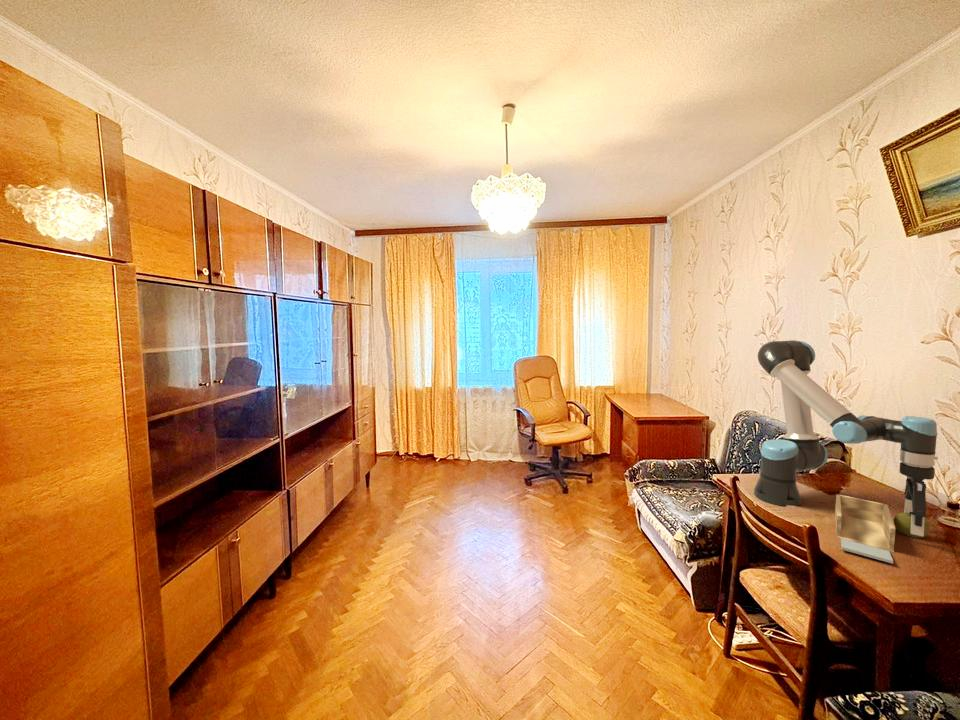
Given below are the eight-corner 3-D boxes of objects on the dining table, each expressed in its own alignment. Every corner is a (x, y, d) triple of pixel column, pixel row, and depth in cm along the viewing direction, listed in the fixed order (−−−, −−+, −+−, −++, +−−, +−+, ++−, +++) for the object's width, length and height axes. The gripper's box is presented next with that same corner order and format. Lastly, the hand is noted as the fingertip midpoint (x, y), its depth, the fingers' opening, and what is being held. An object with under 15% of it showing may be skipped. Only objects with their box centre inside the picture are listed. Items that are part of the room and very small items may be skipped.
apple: (931, 545, 122) (933, 523, 121) (894, 536, 127) (896, 515, 126) (926, 535, 127) (928, 515, 126) (891, 527, 132) (893, 507, 132)
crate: (835, 539, 125) (837, 516, 125) (834, 514, 142) (836, 493, 141) (893, 554, 117) (895, 530, 116) (885, 526, 133) (887, 504, 132)
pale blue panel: (840, 541, 124) (841, 550, 117) (840, 538, 124) (841, 546, 117) (888, 554, 117) (892, 565, 110) (889, 551, 117) (893, 561, 110)
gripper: (943, 478, 113) (939, 546, 115) (927, 456, 131) (923, 516, 133) (905, 472, 118) (902, 537, 120) (895, 452, 136) (892, 509, 138)
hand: (913, 526), depth 126 cm, fingers open, 13 cm apart
